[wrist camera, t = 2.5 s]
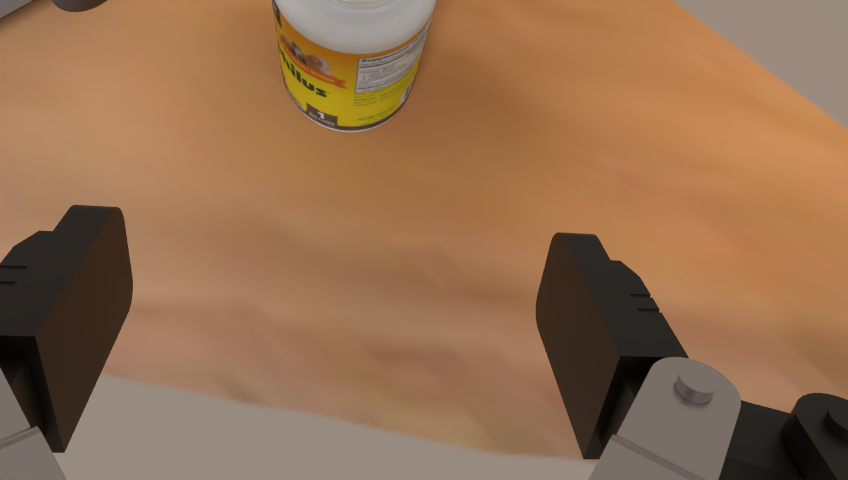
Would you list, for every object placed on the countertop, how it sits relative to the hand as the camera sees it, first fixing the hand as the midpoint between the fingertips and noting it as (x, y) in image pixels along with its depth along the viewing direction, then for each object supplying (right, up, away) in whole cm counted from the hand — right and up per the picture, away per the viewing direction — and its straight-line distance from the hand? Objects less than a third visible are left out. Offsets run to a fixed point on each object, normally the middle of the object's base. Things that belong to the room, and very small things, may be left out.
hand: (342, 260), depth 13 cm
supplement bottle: (-2, +7, +17) cm, 18 cm away
